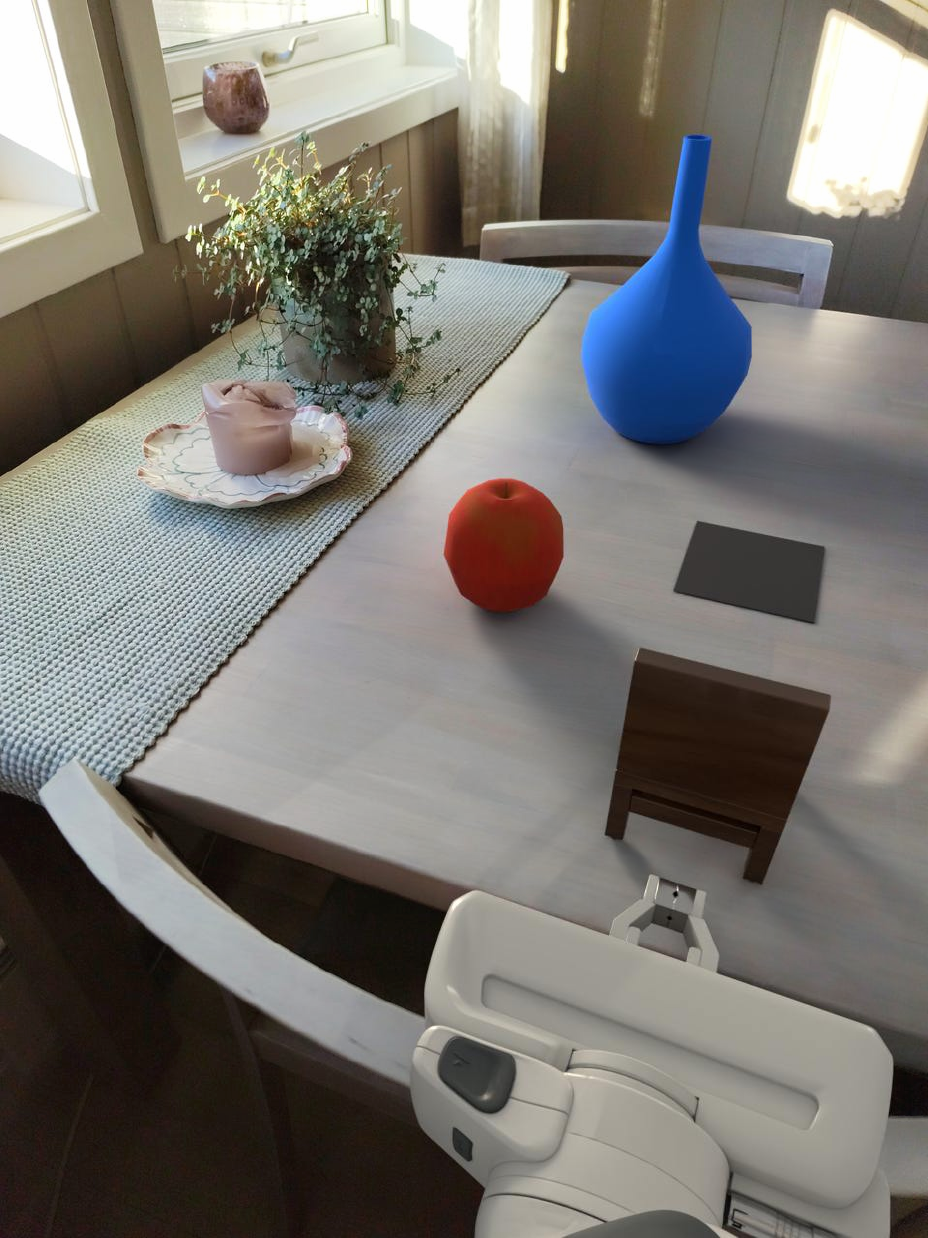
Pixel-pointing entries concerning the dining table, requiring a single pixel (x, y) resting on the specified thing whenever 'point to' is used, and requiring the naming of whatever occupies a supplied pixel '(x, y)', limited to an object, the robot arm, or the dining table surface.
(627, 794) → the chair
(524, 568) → the apple
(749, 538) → the pad
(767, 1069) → the robot arm
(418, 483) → the dining table surface
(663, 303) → the vase
